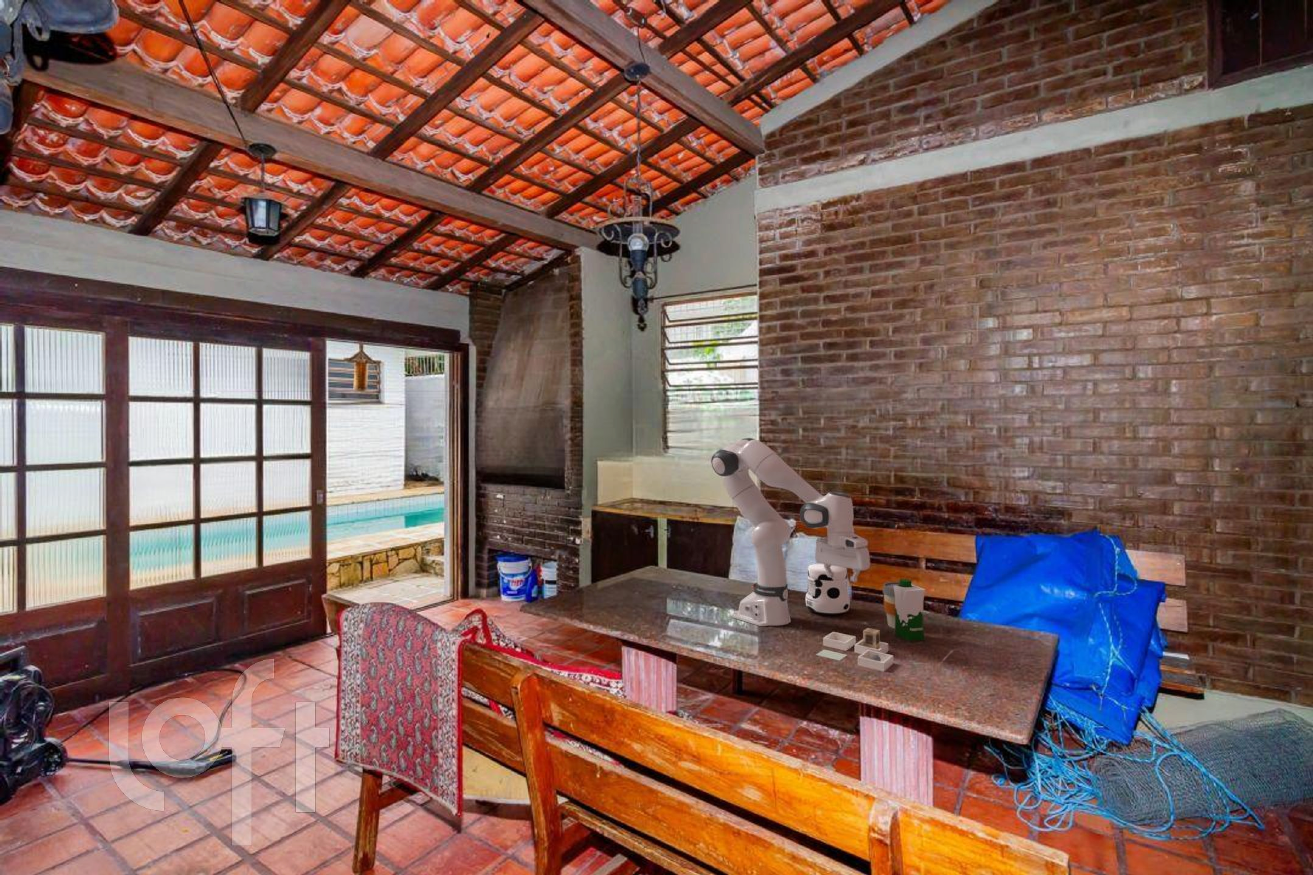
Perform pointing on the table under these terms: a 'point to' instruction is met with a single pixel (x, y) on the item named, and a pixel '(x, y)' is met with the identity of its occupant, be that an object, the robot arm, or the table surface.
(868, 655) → the white square open box
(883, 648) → the white square cubby
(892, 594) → the reusable coffee cup
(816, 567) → the milk container
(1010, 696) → the table surface
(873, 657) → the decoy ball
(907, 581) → the milk carton
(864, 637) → the tan tall block
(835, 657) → the pad
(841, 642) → the white open square tray
